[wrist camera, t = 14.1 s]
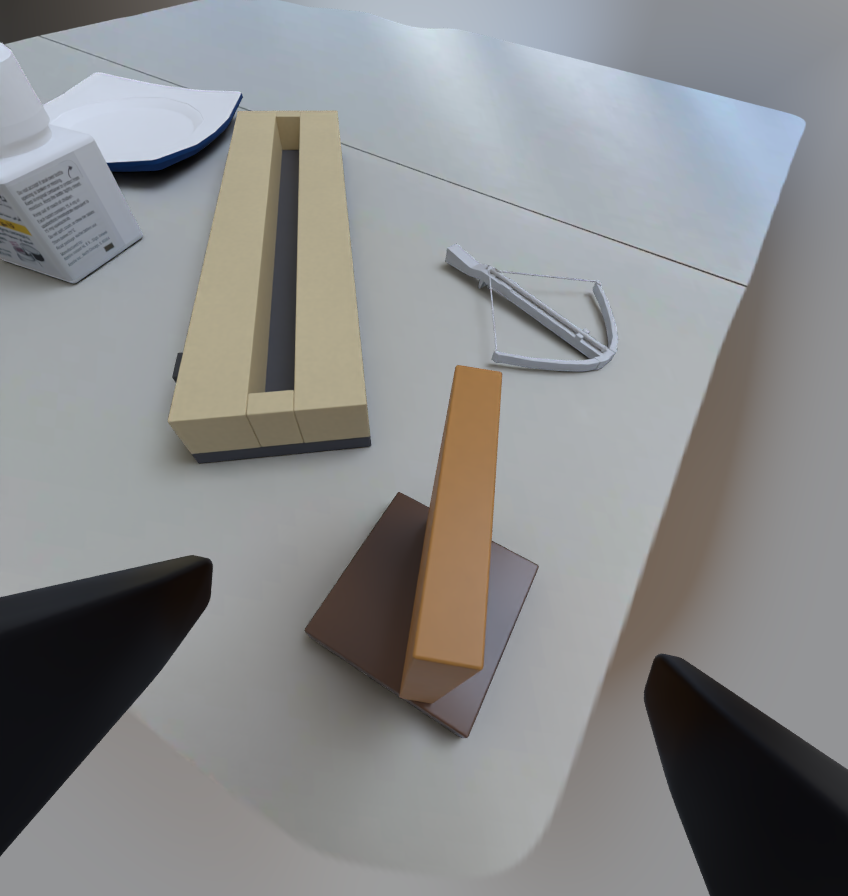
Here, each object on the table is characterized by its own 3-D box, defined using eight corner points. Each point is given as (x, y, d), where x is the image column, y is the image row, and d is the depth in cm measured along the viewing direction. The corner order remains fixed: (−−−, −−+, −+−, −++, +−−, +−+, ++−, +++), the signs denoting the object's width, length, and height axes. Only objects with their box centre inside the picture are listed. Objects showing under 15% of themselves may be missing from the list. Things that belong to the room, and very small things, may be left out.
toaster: (371, 446, 26) (367, 404, 23) (183, 465, 25) (149, 423, 21) (341, 153, 48) (337, 110, 45) (241, 155, 47) (229, 110, 43)
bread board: (462, 739, 18) (467, 739, 17) (309, 637, 20) (302, 630, 19) (531, 574, 22) (539, 565, 21) (398, 503, 24) (398, 490, 23)
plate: (172, 197, 41) (159, 166, 39) (-19, 166, 43) (-42, 135, 40) (260, 117, 52) (253, 90, 50) (106, 95, 54) (94, 68, 52)
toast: (433, 704, 17) (483, 670, 8) (398, 698, 17) (411, 657, 8) (454, 523, 22) (502, 371, 13) (427, 518, 22) (456, 363, 13)
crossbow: (645, 333, 34) (660, 313, 32) (549, 416, 29) (560, 397, 27) (497, 235, 39) (503, 213, 38) (393, 290, 34) (394, 267, 32)
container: (-1, 261, 34) (-184, 44, 24) (76, 216, 38) (-50, 14, 28) (75, 286, 33) (-83, 68, 22) (146, 237, 37) (43, 33, 26)
